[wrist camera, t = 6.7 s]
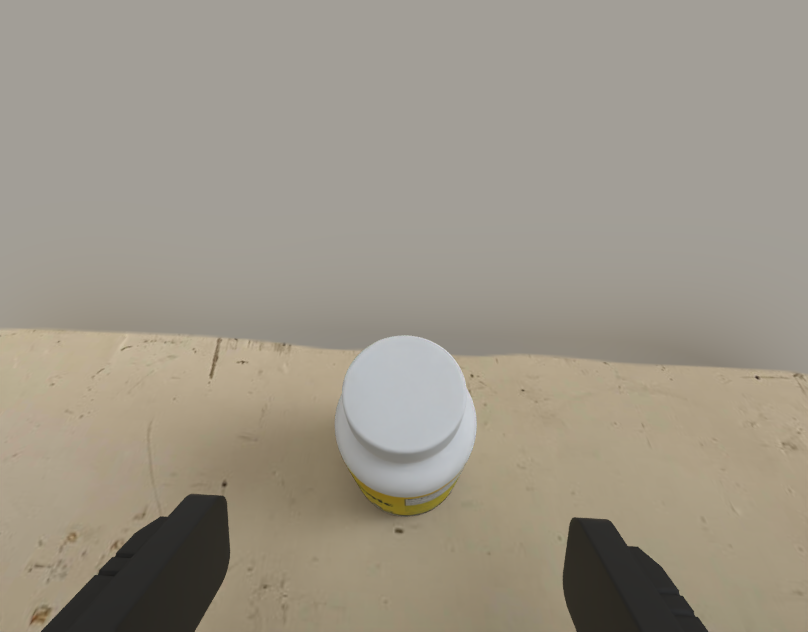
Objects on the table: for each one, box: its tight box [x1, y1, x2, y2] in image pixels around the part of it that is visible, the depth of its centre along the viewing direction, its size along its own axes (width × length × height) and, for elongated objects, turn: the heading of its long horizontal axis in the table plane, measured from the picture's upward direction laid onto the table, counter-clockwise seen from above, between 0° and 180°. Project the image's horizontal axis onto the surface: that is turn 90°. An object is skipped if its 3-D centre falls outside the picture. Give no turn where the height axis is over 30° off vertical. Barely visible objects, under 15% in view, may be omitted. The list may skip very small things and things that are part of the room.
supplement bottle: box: [335, 335, 477, 517], centre depth 17 cm, size 5×5×10 cm
